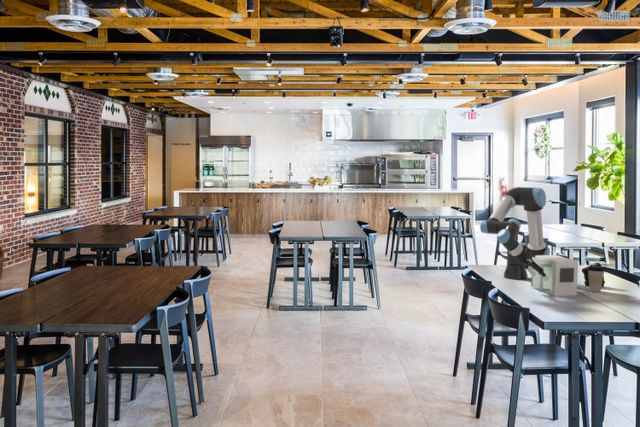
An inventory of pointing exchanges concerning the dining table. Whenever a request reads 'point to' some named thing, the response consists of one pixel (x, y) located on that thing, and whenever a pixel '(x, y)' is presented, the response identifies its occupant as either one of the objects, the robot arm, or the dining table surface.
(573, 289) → the machine housing
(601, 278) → the coffee cup
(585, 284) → the dark bumpy flat shape
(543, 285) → the side door
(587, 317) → the dining table surface
